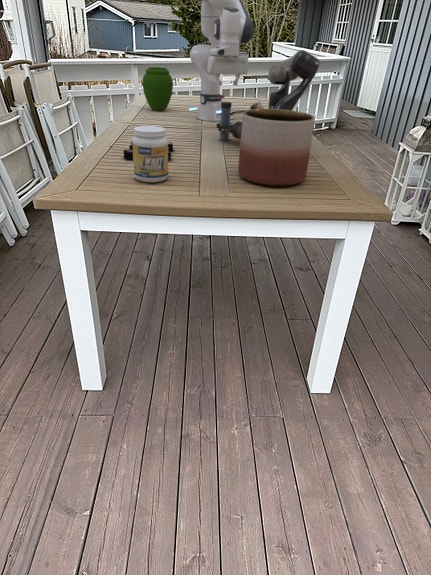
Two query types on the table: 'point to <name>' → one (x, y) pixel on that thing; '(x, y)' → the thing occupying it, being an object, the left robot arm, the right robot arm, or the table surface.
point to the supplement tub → (150, 154)
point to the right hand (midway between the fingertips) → (221, 124)
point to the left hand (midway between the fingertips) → (227, 85)
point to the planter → (275, 146)
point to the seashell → (257, 106)
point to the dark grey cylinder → (225, 120)
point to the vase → (157, 88)
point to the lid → (226, 104)
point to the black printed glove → (129, 153)
